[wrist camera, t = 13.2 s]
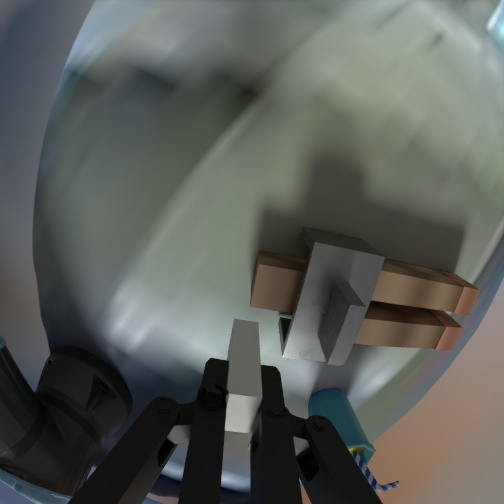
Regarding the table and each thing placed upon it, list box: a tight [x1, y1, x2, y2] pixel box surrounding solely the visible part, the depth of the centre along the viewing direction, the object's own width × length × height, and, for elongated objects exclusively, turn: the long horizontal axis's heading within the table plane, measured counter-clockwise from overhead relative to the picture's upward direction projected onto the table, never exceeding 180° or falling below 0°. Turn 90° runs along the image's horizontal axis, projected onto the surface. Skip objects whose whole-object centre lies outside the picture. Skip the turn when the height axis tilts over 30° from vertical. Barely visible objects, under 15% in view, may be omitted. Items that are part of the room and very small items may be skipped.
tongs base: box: [250, 251, 463, 350], centre depth 26 cm, size 24×6×5 cm, turn 79°
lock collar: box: [278, 227, 385, 366], centre depth 23 cm, size 6×10×10 cm, turn 169°
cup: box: [308, 388, 400, 492], centre depth 26 cm, size 14×8×15 cm, turn 66°
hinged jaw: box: [371, 259, 480, 315], centre depth 25 cm, size 18×3×5 cm, turn 79°
